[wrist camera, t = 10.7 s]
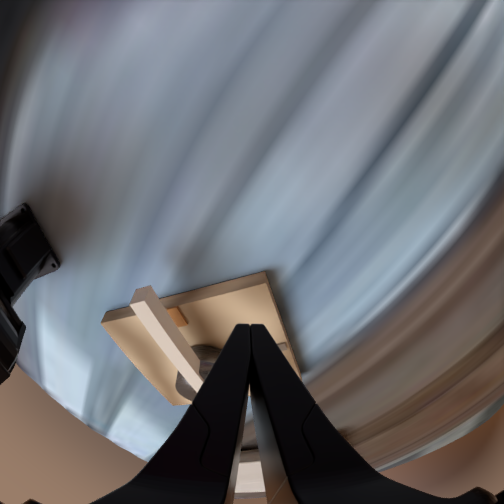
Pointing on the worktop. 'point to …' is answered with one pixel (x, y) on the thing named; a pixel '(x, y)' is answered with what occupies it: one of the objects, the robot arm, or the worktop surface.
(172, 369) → the board
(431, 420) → the worktop surface
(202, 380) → the wooden latch lever
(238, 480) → the square plate
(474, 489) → the robot arm
